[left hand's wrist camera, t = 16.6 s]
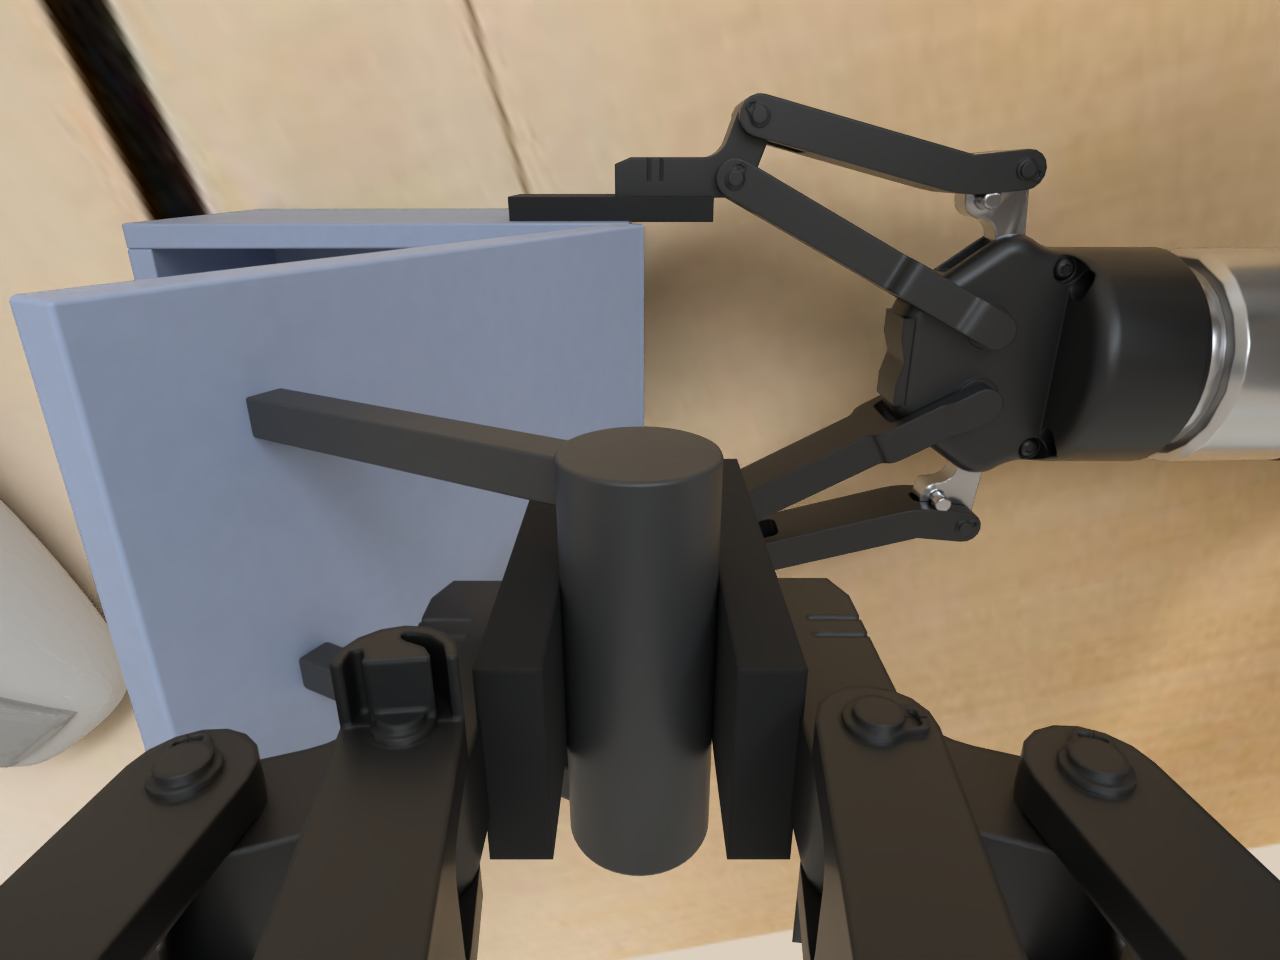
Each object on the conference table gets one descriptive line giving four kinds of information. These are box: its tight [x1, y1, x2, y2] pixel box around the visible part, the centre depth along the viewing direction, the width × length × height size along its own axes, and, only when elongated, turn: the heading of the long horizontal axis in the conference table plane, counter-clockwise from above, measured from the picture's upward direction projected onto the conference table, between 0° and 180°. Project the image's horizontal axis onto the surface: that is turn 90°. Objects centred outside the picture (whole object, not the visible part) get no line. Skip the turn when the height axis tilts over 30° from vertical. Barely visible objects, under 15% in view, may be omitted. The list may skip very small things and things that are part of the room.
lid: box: [10, 224, 723, 876], centre depth 17 cm, size 16×9×9 cm
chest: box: [122, 209, 632, 280], centre depth 30 cm, size 16×9×9 cm, turn 90°
